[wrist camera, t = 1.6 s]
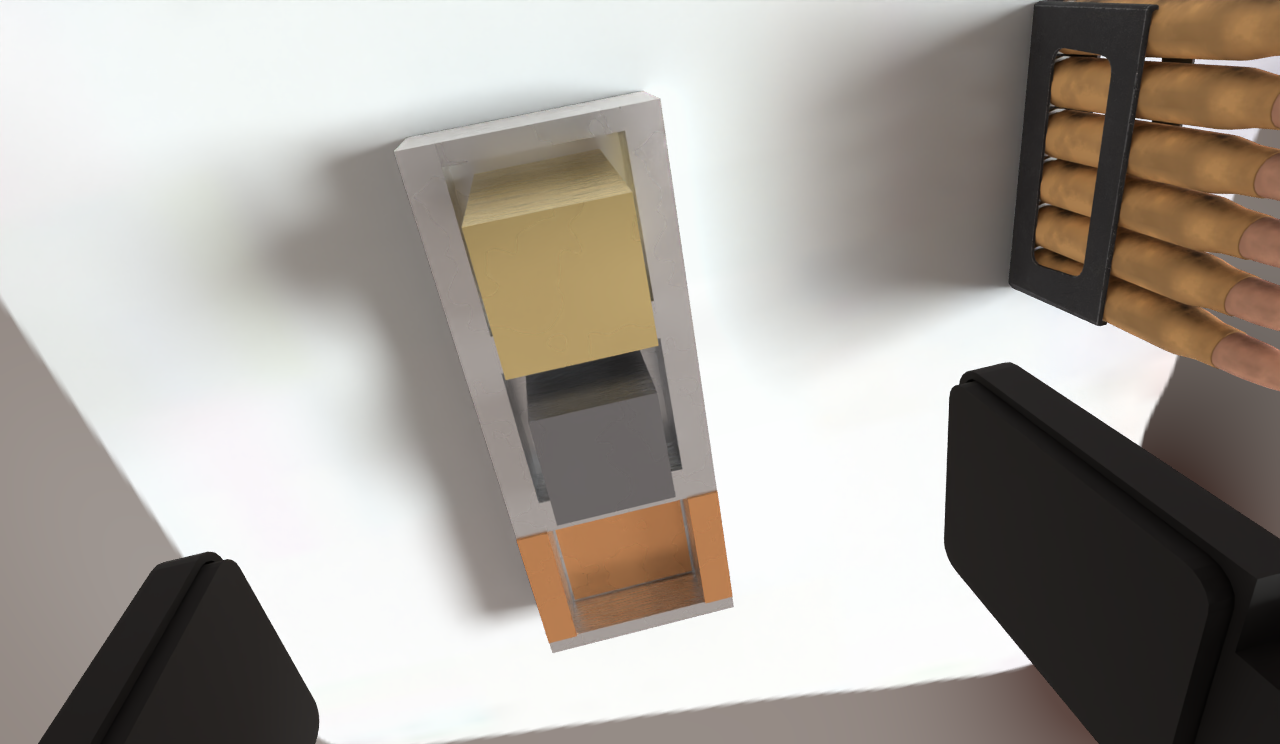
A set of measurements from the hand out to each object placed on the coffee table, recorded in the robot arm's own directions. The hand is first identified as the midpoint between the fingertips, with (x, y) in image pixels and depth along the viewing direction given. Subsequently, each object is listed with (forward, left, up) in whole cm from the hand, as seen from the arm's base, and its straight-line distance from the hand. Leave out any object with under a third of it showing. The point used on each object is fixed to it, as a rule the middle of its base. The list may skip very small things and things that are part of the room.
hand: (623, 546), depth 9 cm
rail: (+7, 0, -18) cm, 19 cm away
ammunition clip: (+1, +19, -18) cm, 26 cm away
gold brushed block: (0, 0, -17) cm, 17 cm away
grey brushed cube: (+7, 0, -17) cm, 18 cm away
